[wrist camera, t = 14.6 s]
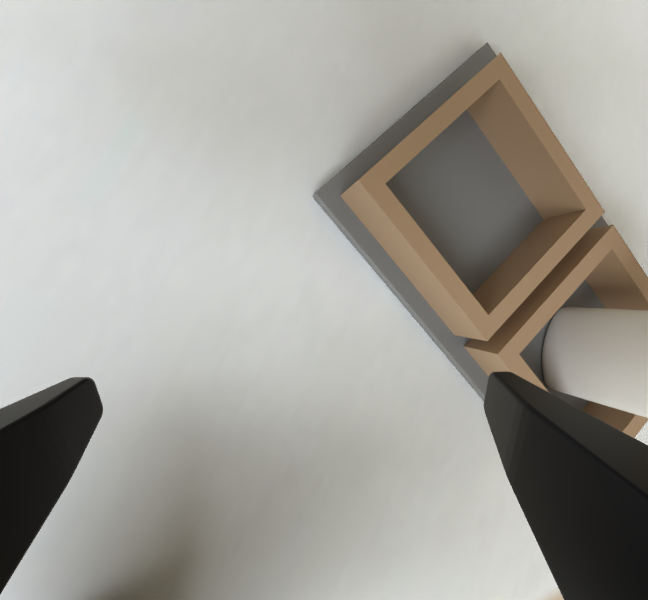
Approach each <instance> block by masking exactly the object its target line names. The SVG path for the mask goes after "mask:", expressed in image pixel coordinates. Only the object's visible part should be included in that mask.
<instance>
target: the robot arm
mask: <svg viewBox="0 0 648 600" xmlns="http://www.w3.org/2000/svg"><path fill="white" fill-rule="evenodd" d="M484 410H485V414H486V417H487V420H488V423H489V426H490V429H491V432H492V434H493V437H494V440H495V443H496V446H497V449H498V452H499V455H500V458H501V461H502V464H503V467H504V469H505V472H506V475H507V477H508V480H509V482H510V484H511V487H512V489H513V491H514V493H515V495H516V497H517V500H518V502H519V504H520V506H521V508H522V510H523V512H524V515H525V517H526V519H527V521H528V523H529V525H530V527H531V530H532V532H533V534H534V536H535V538H536V540H537V542H538V545H539V547H540V549H541V551H542V553H543V555H544V557H545V560H546V562H547V564H548V566H549V568H550V570H551V573H552V575H553V577H554V579H555V581H556V583H557V585H558V588H559V590H560V592H561V594H562V596H563V598H564V600H648V445H646V444H644V443H642V442H640V441H638V440H637V439H635V438H633V437H631V436H629V435H627V434H625V433H624V432H622V431H620V430H618V429H616V428H614V427H612V426H611V425H609V424H607V423H605V422H603V421H601V420H599V419H598V418H596V417H594V416H592V415H590V414H588V413H586V412H585V411H583V410H581V409H579V408H577V407H575V406H573V405H572V404H570V403H568V402H566V401H564V400H562V399H560V398H559V397H557V396H555V395H553V394H551V393H549V392H547V391H546V390H544V389H542V388H540V387H538V386H536V385H534V384H533V383H531V382H529V381H527V380H525V379H523V378H521V377H520V376H518V375H516V374H514V373H512V372H508V371H504V372H492V373H490V375H489V377H488V382H487V388H486V393H485V399H484ZM102 413H103V406H102V402H101V399H100V396H99V394H98V391H97V388H96V385H95V382H94V381H93V380H92V379H91V378H89V377H73V378H69V379H67V380H65V381H62V382H60V383H58V384H56V385H53V386H51V387H49V388H47V389H44V390H42V391H40V392H38V393H35V394H33V395H31V396H28V397H26V398H24V399H22V400H19V401H17V402H15V403H13V404H10V405H8V406H6V407H4V408H1V409H0V594H1V592H2V591H3V589H4V587H5V586H6V584H7V583H8V581H9V579H10V578H11V576H12V574H13V573H14V571H15V569H16V568H17V566H18V565H19V563H20V561H21V560H22V558H23V556H24V555H25V553H26V551H27V550H28V548H29V547H30V545H31V543H32V542H33V540H34V538H35V537H36V535H37V534H38V532H39V530H40V529H41V527H42V525H43V524H44V522H45V520H46V519H47V517H48V516H49V514H50V512H51V511H52V509H53V507H54V506H55V504H56V502H57V501H58V499H59V498H60V496H61V494H62V493H63V491H64V489H65V488H66V486H67V484H68V482H69V481H70V479H71V477H72V475H73V473H74V471H75V469H76V467H77V465H78V463H79V461H80V459H81V457H82V455H83V453H84V451H85V449H86V447H87V445H88V443H89V441H90V439H91V437H92V435H93V433H94V431H95V429H96V427H97V425H98V423H99V421H100V419H101V416H102Z"/></svg>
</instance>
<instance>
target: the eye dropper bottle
mask: <svg viewBox="0 0 648 600" xmlns="http://www.w3.org/2000/svg"><path fill="white" fill-rule="evenodd" d="M542 368H543V376H544V380H545V383H546V384H547V386H548V387H550V388H551V389H553V390H556V391H559V392H562V393H565V394H569V395H572V396H575V397H579V398H582V399H585V400H589V401H592V402H595V403H599V404H602V405H606V406H609V407H612V408H616V409H619V410H622V411H626V412H629V413H633V414H636V415H639V416H643V417H646V418H648V311H646V310H625V309H603V308H580V307H565V308H561V309H559V310H558V311H557V312H556V313H555V315H554V317H553V318H552V320H551V322H550V325H549V327H548V330H547V333H546V336H545V340H544V344H543V352H542Z"/></svg>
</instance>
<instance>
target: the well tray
mask: <svg viewBox="0 0 648 600" xmlns="http://www.w3.org/2000/svg"><path fill="white" fill-rule="evenodd" d="M313 198H314V199H315V200H316V201H317V203H318V204H319V205H320V206H321V207H322V209H323V210H324V211H325V212H326V213H327V214H328V216H329V217H330V218H331V219H332V220H333V222H334V223H335V224H336V225H337V226H338V228H339V229H340V230H341V231H342V232H343V234H344V235H345V236H346V237H347V238H348V240H349V241H350V242H351V243H352V244H353V245H354V247H355V248H356V249H357V250H358V251H359V253H360V254H361V255H362V256H363V257H364V259H365V260H366V261H367V262H368V263H369V265H370V266H371V267H372V268H373V269H374V271H375V272H376V273H377V274H378V275H379V276H380V278H381V279H382V280H383V281H384V282H385V284H386V285H387V286H388V287H389V288H390V290H391V291H392V292H393V293H394V294H395V296H396V297H397V298H398V299H399V300H400V302H401V303H402V304H403V305H404V306H405V307H406V309H407V310H408V311H409V312H410V313H411V315H412V316H413V317H414V318H415V319H416V321H417V322H418V323H419V324H420V325H421V327H422V328H423V329H424V330H425V331H426V333H427V334H428V335H429V336H430V337H431V338H432V340H433V341H434V342H435V343H436V344H437V346H438V347H439V348H440V349H441V350H442V352H443V353H444V354H445V355H446V356H447V358H448V359H449V360H450V361H451V362H452V364H453V365H454V366H455V367H456V368H457V369H458V371H459V372H460V373H461V374H462V375H463V377H464V378H465V379H466V380H467V381H468V383H469V384H470V385H471V386H472V387H473V389H474V390H475V391H476V392H477V393H478V395H479V396H480V397H481V398H482V399H483V400H484V399H485V393H486V388H487V382H488V377H489V375H490V373H492V372H504V371H508V372H512V373H514V374H516V375H518V376H520V377H521V378H523V379H525V380H527V381H529V382H531V383H533V384H534V385H536V386H538V387H540V388H542V389H544V390H546V391H547V392H549V393H551V394H553V395H555V396H557V397H559V398H560V399H562V400H564V401H566V402H568V403H570V404H572V405H573V406H575V407H577V408H579V409H581V410H583V411H585V412H586V413H588V414H590V415H592V416H594V417H596V418H598V419H599V420H601V421H603V422H605V423H607V424H609V425H611V426H612V427H614V428H616V429H618V430H620V431H622V432H624V433H625V434H627V435H629V436H631V437H633V438H635V436H636V435H637V434H638V432H639V431H640V430H641V428H642V427H643V426H644V424H645V423H646V422H647V420H648V418H646V417H643V416H639V415H636V414H633V413H629V412H626V411H622V410H619V409H616V408H612V407H609V406H606V405H602V404H599V403H595V402H592V401H589V400H585V399H582V398H579V397H575V396H572V395H569V394H565V393H562V392H559V391H556V390H553V389H551V388H550V387H548V386H547V384H546V383H545V380H544V376H543V368H542V352H543V344H544V340H545V336H546V333H547V330H548V327H549V325H550V322H551V320H552V318H553V317H554V315H555V313H556V312H557V311H558V310H559V309H561V308H565V307H580V308H603V309H625V310H646V311H648V277H647V276H646V274H645V273H644V271H643V269H642V268H641V266H640V265H639V263H638V262H637V260H636V259H635V257H634V256H633V254H632V253H631V251H630V250H629V248H628V247H627V245H626V243H625V242H624V240H623V239H622V237H621V236H620V234H619V233H618V231H617V230H616V228H615V227H614V225H610V226H608V225H607V223H606V222H605V220H604V219H603V217H602V214H603V213H604V212H605V211H604V210H603V208H602V207H601V205H600V204H599V202H598V201H597V199H596V198H595V196H594V195H593V193H592V191H591V190H590V188H589V187H588V185H587V184H586V182H585V181H584V179H583V178H582V176H581V175H580V173H579V172H578V170H577V169H576V167H575V165H574V164H573V162H572V161H571V159H570V158H569V156H568V155H567V153H566V152H565V150H564V149H563V147H562V146H561V144H560V143H559V141H558V139H557V138H556V136H555V135H554V133H553V132H552V130H551V129H550V127H549V126H548V124H547V123H546V121H545V120H544V118H543V117H542V115H541V113H540V112H539V110H538V109H537V107H536V106H535V104H534V103H533V101H532V100H531V98H530V97H529V95H528V94H527V92H526V91H525V89H524V87H523V86H522V84H521V83H520V81H519V80H518V78H517V77H516V75H515V74H514V72H513V71H512V69H511V68H510V66H509V65H508V63H507V61H506V60H505V58H504V57H503V55H502V54H501V53H500V54H499V55H498V56H496V55H495V53H494V52H493V50H492V49H491V47H490V46H489V44H488V43H486V44H485V45H484V46H483V47H482V48H480V49H479V50H478V51H477V52H476V53H475V54H474V55H472V56H471V57H470V58H469V59H468V60H467V61H466V62H464V63H463V64H462V65H461V66H460V67H459V68H458V69H456V70H455V71H454V72H453V73H452V74H451V75H450V76H448V77H447V78H446V79H445V80H444V81H443V82H442V83H441V84H439V85H438V86H437V87H436V88H435V89H434V90H433V91H431V92H430V93H429V94H428V95H427V96H426V97H425V98H423V99H422V100H421V101H420V102H419V103H418V104H417V105H415V106H414V107H413V108H412V109H411V110H410V111H409V112H407V113H406V114H405V115H404V116H403V117H402V118H401V119H400V120H398V121H397V122H396V123H395V124H394V125H393V126H392V127H390V128H389V129H388V130H387V131H386V132H385V133H384V134H382V135H381V136H380V137H379V138H378V139H377V140H376V141H374V142H373V143H372V144H371V145H370V146H369V147H368V148H366V149H365V150H364V151H363V152H362V153H361V154H360V155H359V156H357V157H356V158H355V159H354V160H353V161H352V162H351V163H349V164H348V165H347V166H346V167H345V168H344V169H343V170H341V171H340V172H339V173H338V174H337V175H336V176H335V177H333V178H332V179H331V180H330V181H329V182H328V183H327V184H326V185H324V186H323V187H322V188H321V189H320V190H319V191H318V192H316V193H315V194H314V196H313Z"/></svg>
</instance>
